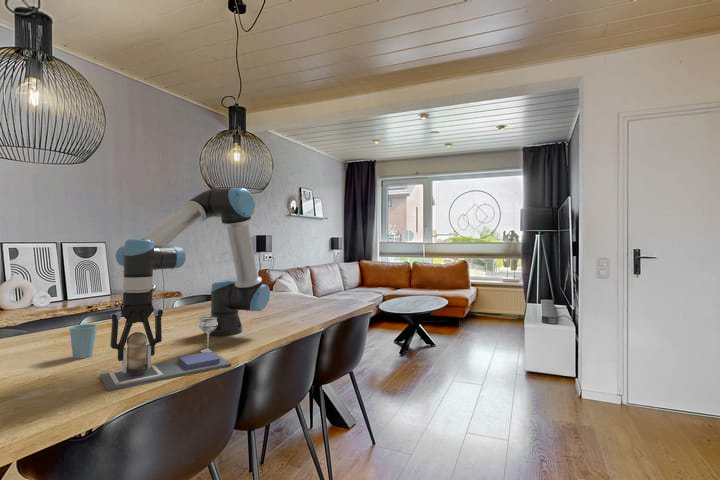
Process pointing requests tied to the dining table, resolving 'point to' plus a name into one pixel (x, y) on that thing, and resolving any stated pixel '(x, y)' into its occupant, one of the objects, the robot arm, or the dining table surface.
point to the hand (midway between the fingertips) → (136, 368)
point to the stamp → (136, 353)
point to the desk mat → (165, 370)
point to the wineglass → (208, 328)
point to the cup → (83, 340)
